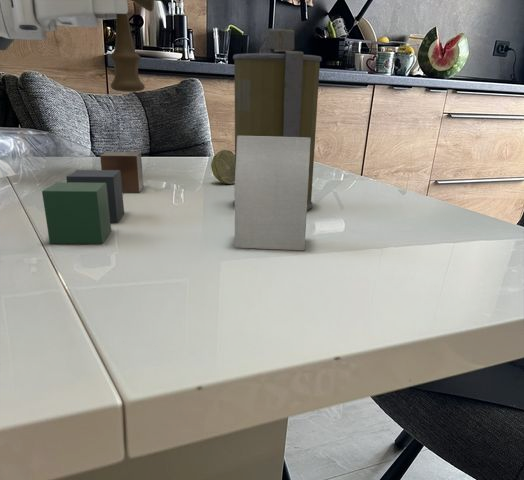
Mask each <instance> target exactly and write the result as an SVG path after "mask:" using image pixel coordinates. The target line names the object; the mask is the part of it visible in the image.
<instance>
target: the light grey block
mask: <svg viewBox="0 0 524 480" xmlns="http://www.w3.org/2000/svg"><path fill="white" fill-rule="evenodd" d="M310 140H311V138H307V137H271V136H237V151H236V170H235V183H234V200H235V206H234V248H235V249H236V248H238V249H259V250H261V249H263V250H284V251H285V250H286V251H305V250H306V249H305V247H306V232H307V231H306V230H307V212H308V210H307V196H308V177H309V159H310Z"/></svg>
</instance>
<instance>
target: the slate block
mask: <svg viewBox="0 0 524 480" xmlns="http://www.w3.org/2000/svg"><path fill="white" fill-rule="evenodd" d="M65 176H66V177H65V180H66V182H72V183H106V185H107V195H108V205H109V215H110V224H118V223H119V221H120V220H121V219H122V217H123V216H124V215H125V207H124V205H125V204H124V196H123V195H124V193H122V182H121V171H120V170H102V169H75V170H74V171H72V172H71V173H69V174H67V175H65Z"/></svg>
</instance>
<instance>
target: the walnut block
mask: <svg viewBox="0 0 524 480" xmlns="http://www.w3.org/2000/svg"><path fill="white" fill-rule="evenodd" d="M99 158H100V159H99V160H100V170H120V171H121V182H122V193H123V194H125V193H127V194H129V193H132V194H140V193H141V191H142V190H143V188H144V174H143V173H144V172H143V159H142V151H105V152H104V153H102V154H101V155H99Z"/></svg>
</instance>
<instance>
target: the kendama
mask: <svg viewBox="0 0 524 480" xmlns="http://www.w3.org/2000/svg"><path fill="white" fill-rule="evenodd" d="M130 1H132V2H134V3H135V4H137V5H138V6H140V7H141V8H143V9H144V10H146V11H148V12H153V10H154V7H155V0H130ZM115 25H116V30H115V44H114V50H113V52H112V53H111V54H110V56H109V58H110V60H111V61H112V63H113V66H114V67H113V68H114V77H113V80H112V81H111V83H110V88H111V89H112V90H114V91H118V92H125V93H126V92H127V93H136V92H142V91H144V90H145V88H146V86H145V84H144V83H143V81H142V80H141V79H140V76H139V63H140V62H141V60H142V56H140V55H139V54H138V52H137V51H136V48H135V44H134V40H133V36H132V29H131V25H130V20H129V12H128V13H127V14H126V15H123V14H117V18H116V24H115Z"/></svg>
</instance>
